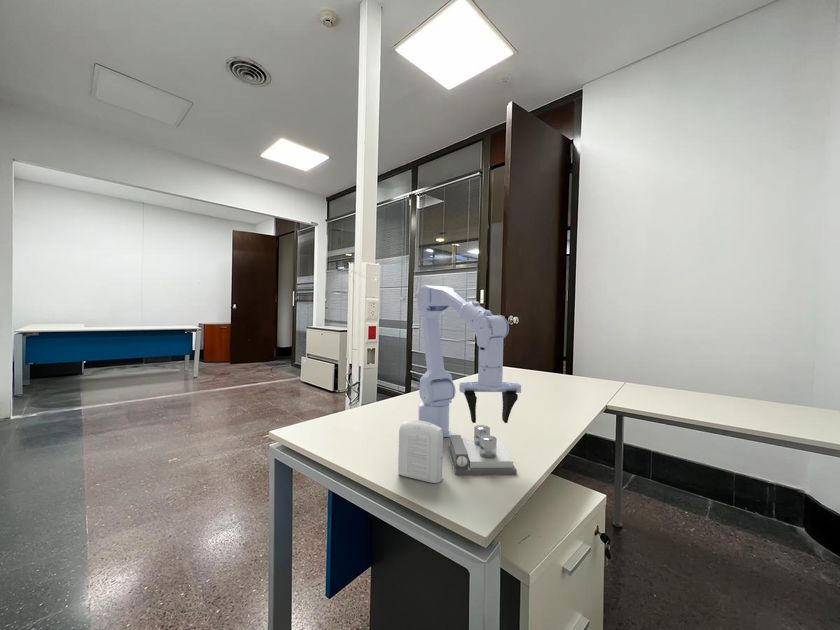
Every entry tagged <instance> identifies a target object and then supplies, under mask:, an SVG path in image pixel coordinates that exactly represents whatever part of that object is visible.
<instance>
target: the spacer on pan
mask: <svg viewBox="0 0 840 630" xmlns="http://www.w3.org/2000/svg"><path fill="white" fill-rule="evenodd" d="M473 431H474V432H473V433H474V434H473V441H474V443H475V444H476V445H478V446H479V444H480V436H482V435H491V428H490V427H489V426H488V425H483V424H477V425H475V426H474V428H473Z"/></svg>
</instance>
